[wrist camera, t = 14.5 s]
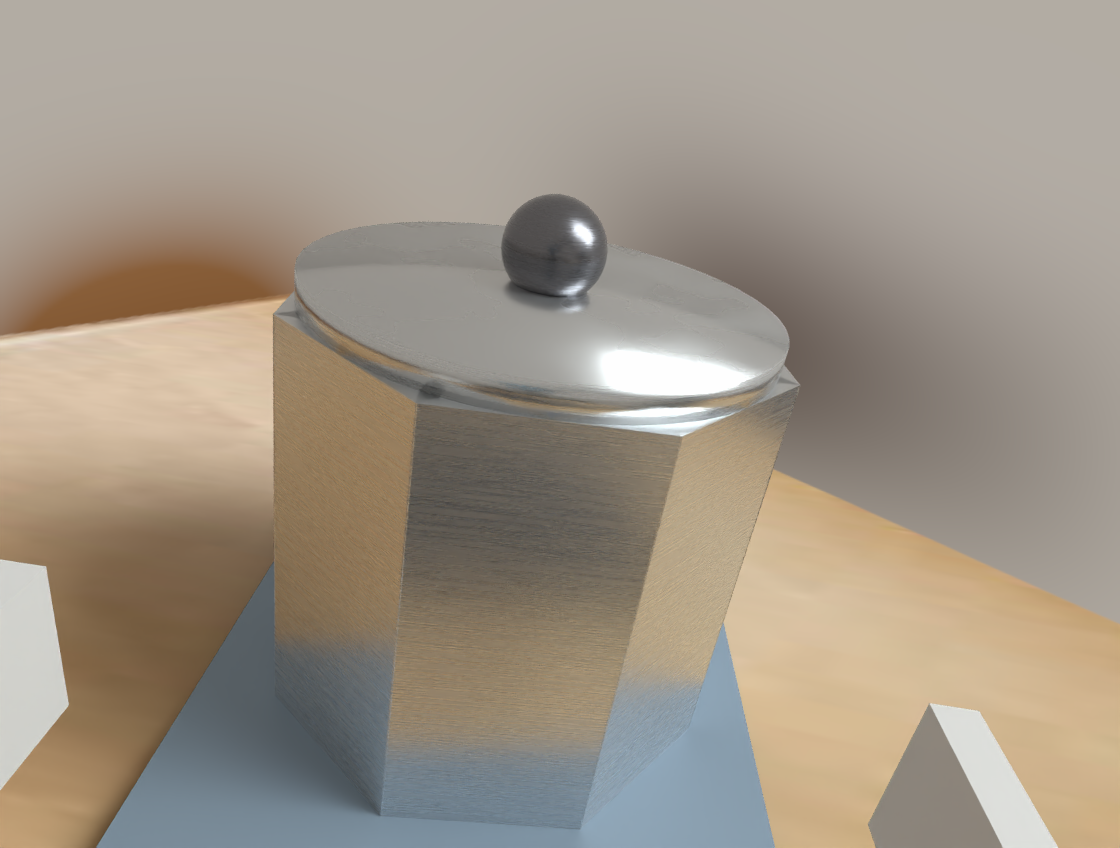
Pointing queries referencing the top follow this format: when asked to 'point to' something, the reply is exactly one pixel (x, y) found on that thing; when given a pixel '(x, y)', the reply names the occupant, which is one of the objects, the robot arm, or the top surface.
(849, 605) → the top surface
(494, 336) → the steel canister
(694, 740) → the blue board
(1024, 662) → the top surface
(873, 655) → the top surface
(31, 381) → the top surface
